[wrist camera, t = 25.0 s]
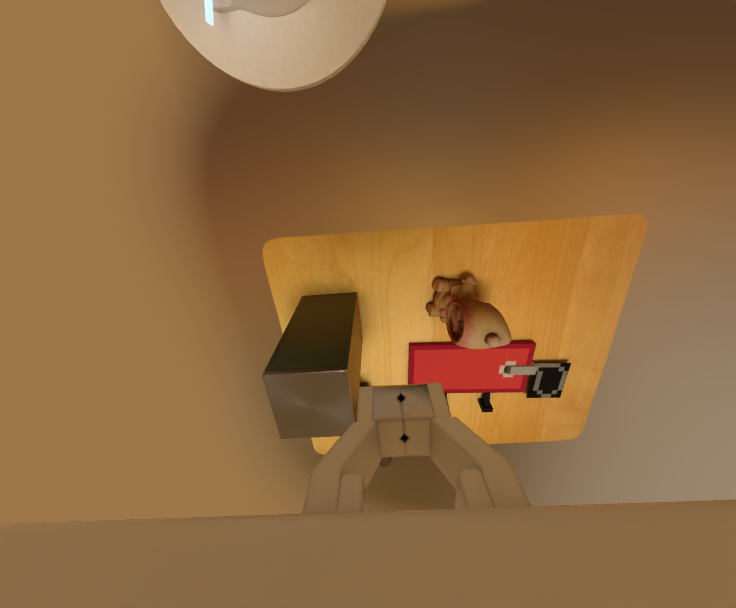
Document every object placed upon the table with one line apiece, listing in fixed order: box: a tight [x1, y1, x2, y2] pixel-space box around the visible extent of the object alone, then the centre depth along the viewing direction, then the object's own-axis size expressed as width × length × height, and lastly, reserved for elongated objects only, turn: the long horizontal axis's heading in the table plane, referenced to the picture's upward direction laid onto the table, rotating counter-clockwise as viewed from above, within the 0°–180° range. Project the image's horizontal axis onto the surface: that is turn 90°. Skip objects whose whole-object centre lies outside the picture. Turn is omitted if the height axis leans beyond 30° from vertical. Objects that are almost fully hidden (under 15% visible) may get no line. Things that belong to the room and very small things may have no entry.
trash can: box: [265, 292, 362, 422], centre depth 44 cm, size 10×10×20 cm
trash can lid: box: [262, 366, 356, 439], centre depth 34 cm, size 10×10×1 cm
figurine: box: [426, 277, 511, 349], centre depth 44 cm, size 10×8×15 cm
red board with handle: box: [408, 341, 571, 412], centre depth 56 cm, size 30×3×15 cm
